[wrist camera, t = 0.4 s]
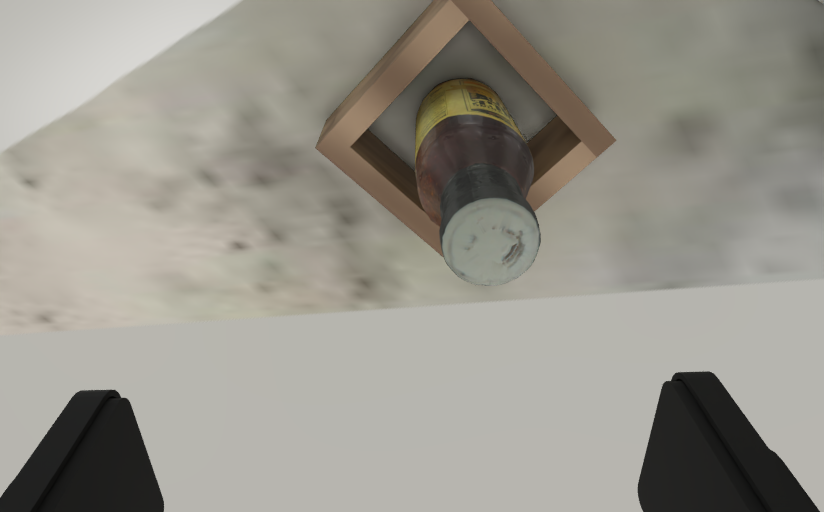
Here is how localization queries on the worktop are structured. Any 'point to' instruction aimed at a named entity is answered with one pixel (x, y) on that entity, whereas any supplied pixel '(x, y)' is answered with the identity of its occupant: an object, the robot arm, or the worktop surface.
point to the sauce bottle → (476, 182)
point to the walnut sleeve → (451, 9)
